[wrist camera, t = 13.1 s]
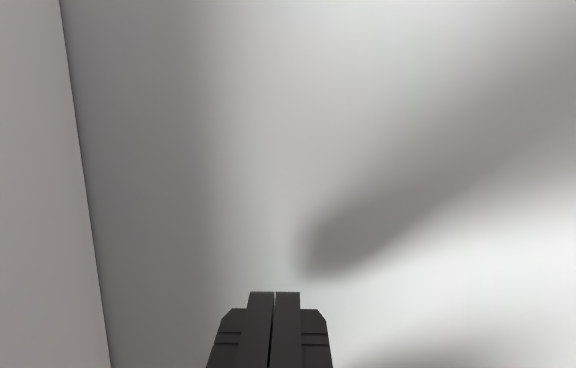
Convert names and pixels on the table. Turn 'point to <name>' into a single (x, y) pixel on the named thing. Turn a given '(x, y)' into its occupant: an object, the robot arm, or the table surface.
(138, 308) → the table surface
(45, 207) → the tray
